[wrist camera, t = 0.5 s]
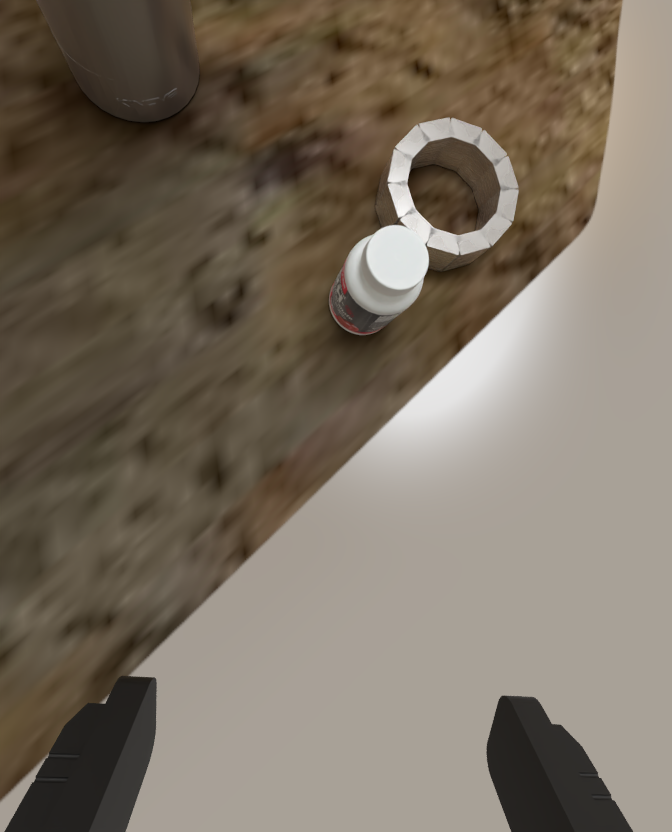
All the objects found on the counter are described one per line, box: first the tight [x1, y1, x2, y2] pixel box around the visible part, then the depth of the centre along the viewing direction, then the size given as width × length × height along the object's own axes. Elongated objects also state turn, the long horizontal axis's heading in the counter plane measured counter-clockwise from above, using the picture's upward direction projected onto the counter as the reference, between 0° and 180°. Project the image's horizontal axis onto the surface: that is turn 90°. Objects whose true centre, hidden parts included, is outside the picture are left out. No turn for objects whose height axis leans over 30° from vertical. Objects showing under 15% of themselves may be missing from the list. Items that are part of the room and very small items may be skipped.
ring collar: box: [375, 118, 519, 272], centre depth 36 cm, size 10×10×4 cm
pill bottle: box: [329, 225, 429, 335], centre depth 31 cm, size 5×5×10 cm
